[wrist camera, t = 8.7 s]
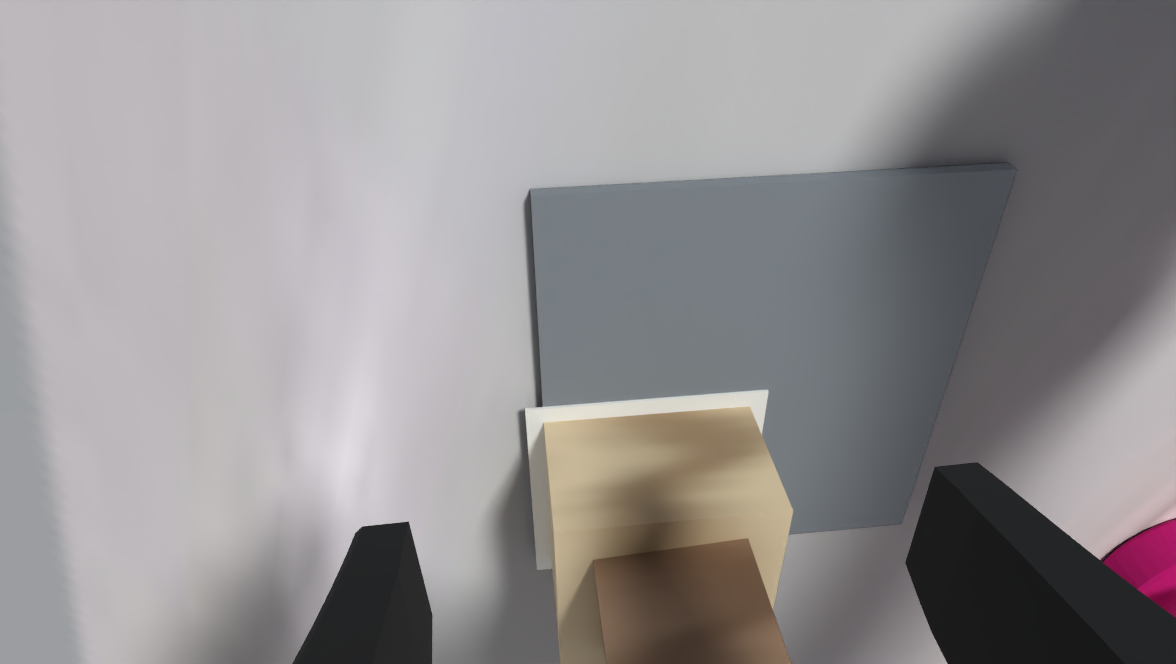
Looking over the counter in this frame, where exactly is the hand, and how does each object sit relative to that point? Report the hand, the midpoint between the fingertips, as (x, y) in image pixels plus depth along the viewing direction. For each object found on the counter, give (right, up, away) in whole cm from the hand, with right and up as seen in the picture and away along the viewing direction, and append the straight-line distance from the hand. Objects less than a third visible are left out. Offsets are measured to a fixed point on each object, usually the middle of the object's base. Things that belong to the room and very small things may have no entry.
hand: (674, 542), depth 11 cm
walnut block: (+1, -4, +10) cm, 11 cm away
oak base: (+1, -2, +14) cm, 14 cm away
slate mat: (+3, +1, +12) cm, 13 cm away
